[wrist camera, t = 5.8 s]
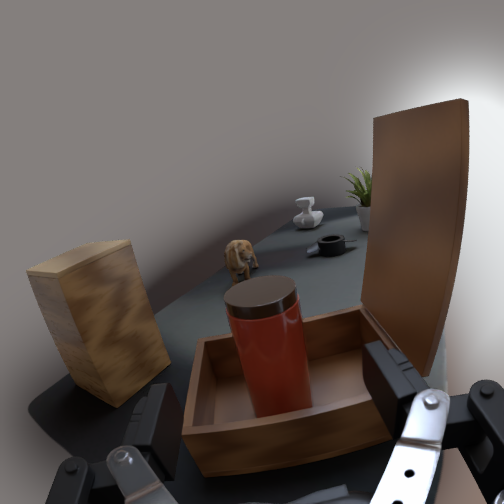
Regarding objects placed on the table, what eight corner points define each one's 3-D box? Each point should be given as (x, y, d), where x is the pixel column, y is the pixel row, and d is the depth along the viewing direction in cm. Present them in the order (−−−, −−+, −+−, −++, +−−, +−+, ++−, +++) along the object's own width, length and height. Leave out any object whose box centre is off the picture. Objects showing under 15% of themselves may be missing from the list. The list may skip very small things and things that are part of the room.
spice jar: (266, 436, 24) (234, 316, 21) (245, 399, 29) (214, 289, 26) (325, 410, 26) (310, 289, 22) (297, 379, 31) (278, 269, 27)
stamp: (314, 231, 87) (309, 200, 84) (292, 231, 91) (287, 202, 88) (326, 222, 94) (321, 194, 91) (305, 223, 98) (301, 196, 95)
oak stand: (117, 408, 31) (58, 278, 26) (75, 384, 36) (27, 275, 32) (171, 362, 39) (131, 244, 35) (125, 348, 44) (88, 247, 40)
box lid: (460, 97, 14) (505, 113, 14) (373, 117, 27) (411, 123, 27) (421, 377, 19) (464, 367, 19) (360, 300, 32) (395, 298, 32)
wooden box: (204, 477, 21) (180, 434, 20) (211, 380, 34) (197, 338, 33) (415, 430, 21) (424, 380, 19) (365, 348, 34) (363, 304, 32)
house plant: (408, 220, 79) (401, 159, 74) (397, 235, 69) (389, 164, 64) (360, 220, 88) (352, 163, 83) (341, 235, 78) (332, 169, 73)
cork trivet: (58, 278, 26) (56, 272, 26) (27, 275, 32) (25, 270, 31) (131, 244, 35) (130, 239, 34) (88, 247, 40) (87, 243, 40)
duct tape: (317, 246, 74) (315, 233, 73) (359, 245, 68) (357, 232, 67) (304, 258, 68) (302, 244, 67) (349, 258, 62) (348, 244, 61)
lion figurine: (259, 290, 56) (249, 240, 54) (229, 295, 57) (217, 246, 54) (259, 263, 71) (250, 222, 68) (234, 267, 71) (226, 227, 68)
